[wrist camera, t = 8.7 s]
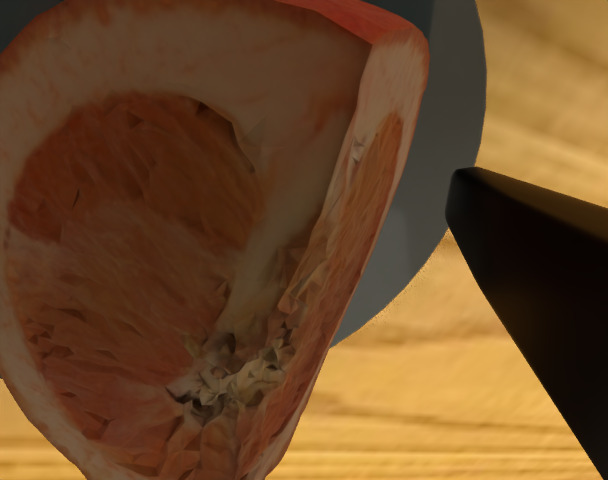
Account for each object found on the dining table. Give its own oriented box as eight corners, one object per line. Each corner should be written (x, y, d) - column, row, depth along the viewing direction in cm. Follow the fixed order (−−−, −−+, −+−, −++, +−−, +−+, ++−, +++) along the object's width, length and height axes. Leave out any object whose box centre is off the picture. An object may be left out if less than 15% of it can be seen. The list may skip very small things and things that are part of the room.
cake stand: (395, -209, 13) (562, -233, 8) (359, 225, 20) (438, 345, 15) (-222, -229, 10) (-503, -284, 5) (-10, 283, 17) (-53, 452, 12)
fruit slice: (300, 347, 14) (379, 551, 10) (-13, 348, 11) (-75, 624, 7) (430, -13, 9) (657, 94, 6) (-25, -142, 7) (-189, -110, 3)
